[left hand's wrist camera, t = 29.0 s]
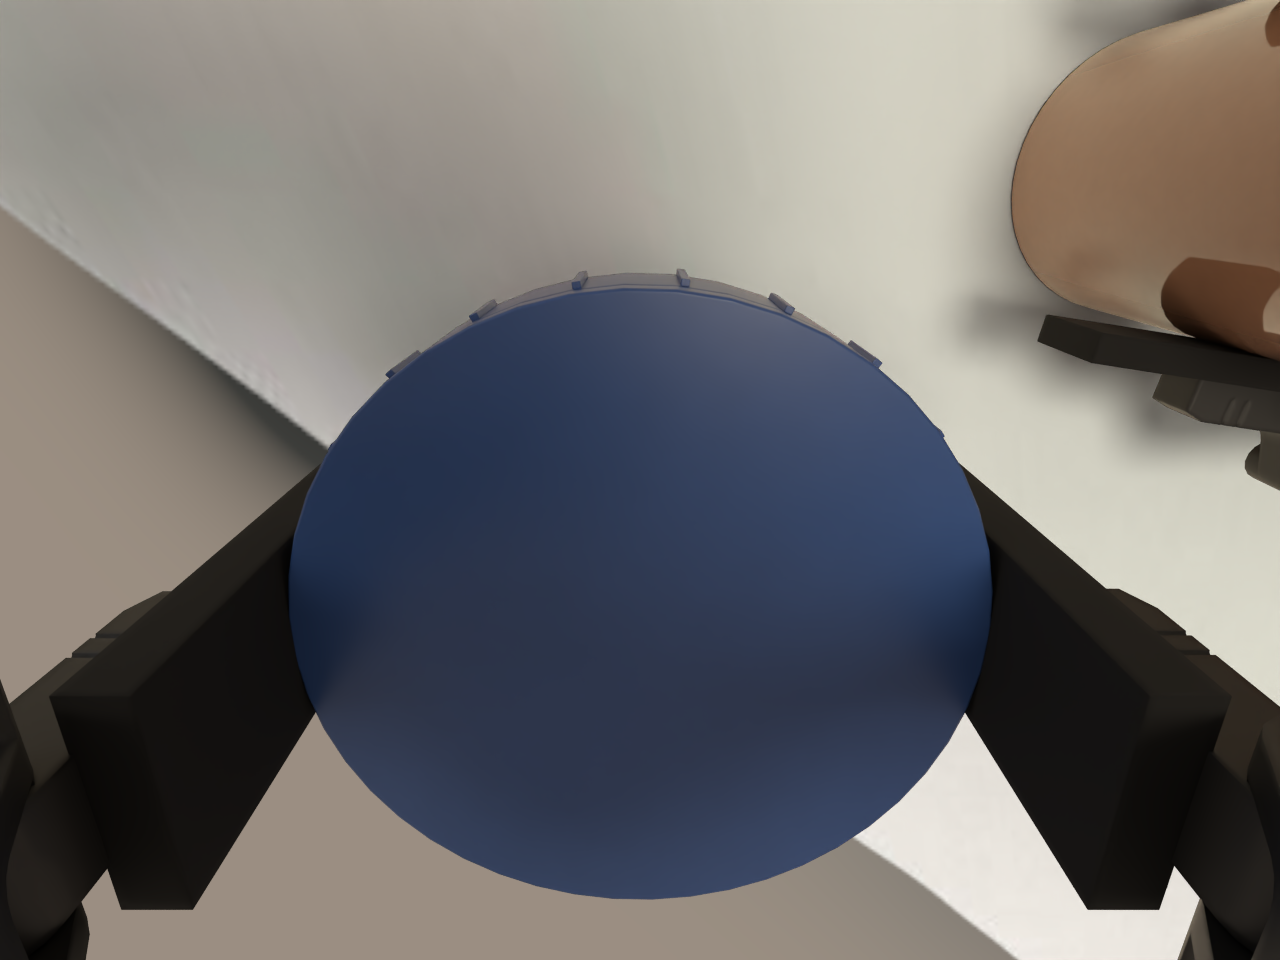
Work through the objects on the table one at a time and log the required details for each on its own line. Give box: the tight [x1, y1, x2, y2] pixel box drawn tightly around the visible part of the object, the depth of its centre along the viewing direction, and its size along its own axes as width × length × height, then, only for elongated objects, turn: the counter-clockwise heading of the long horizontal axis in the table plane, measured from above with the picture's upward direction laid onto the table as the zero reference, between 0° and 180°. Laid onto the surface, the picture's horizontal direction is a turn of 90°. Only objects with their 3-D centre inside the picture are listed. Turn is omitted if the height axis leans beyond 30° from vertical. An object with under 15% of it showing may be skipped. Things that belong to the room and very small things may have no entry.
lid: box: [288, 269, 993, 899], centre depth 11 cm, size 10×10×2 cm
